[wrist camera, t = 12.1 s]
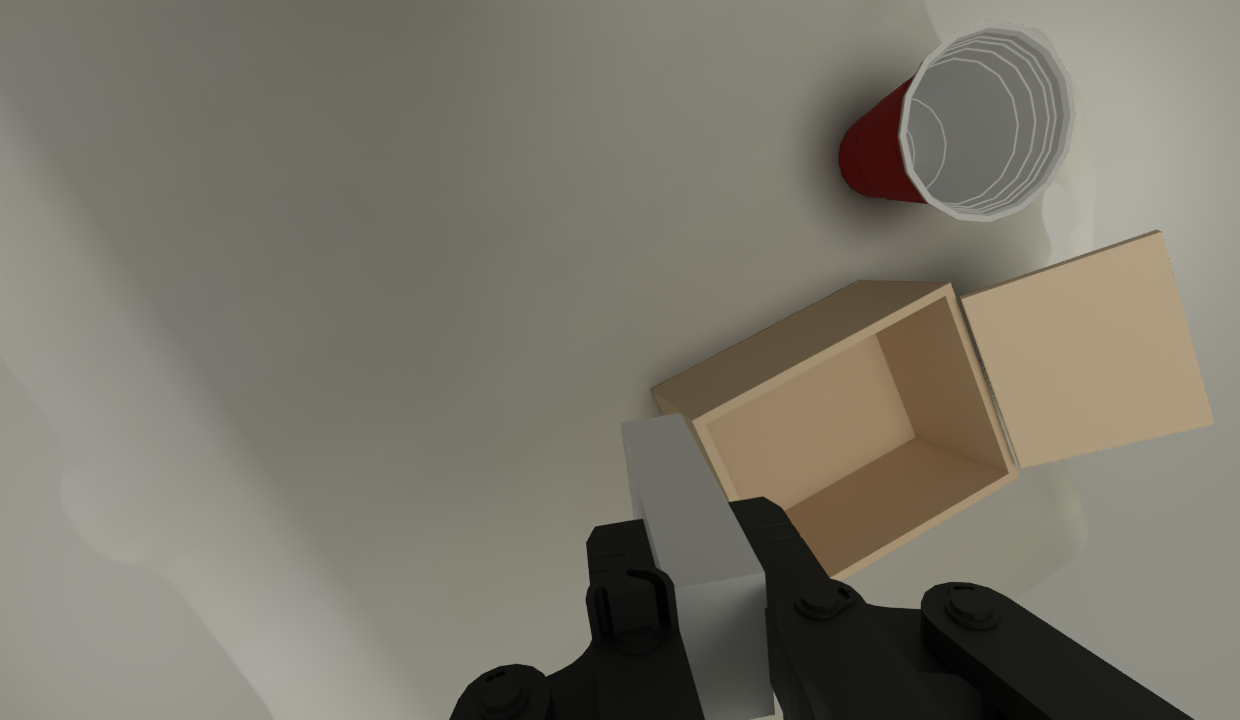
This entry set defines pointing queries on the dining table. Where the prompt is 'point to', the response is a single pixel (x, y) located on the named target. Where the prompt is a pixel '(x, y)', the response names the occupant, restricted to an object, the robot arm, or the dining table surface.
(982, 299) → the flap
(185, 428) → the dining table surface
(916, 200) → the plastic cup
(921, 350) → the carton
